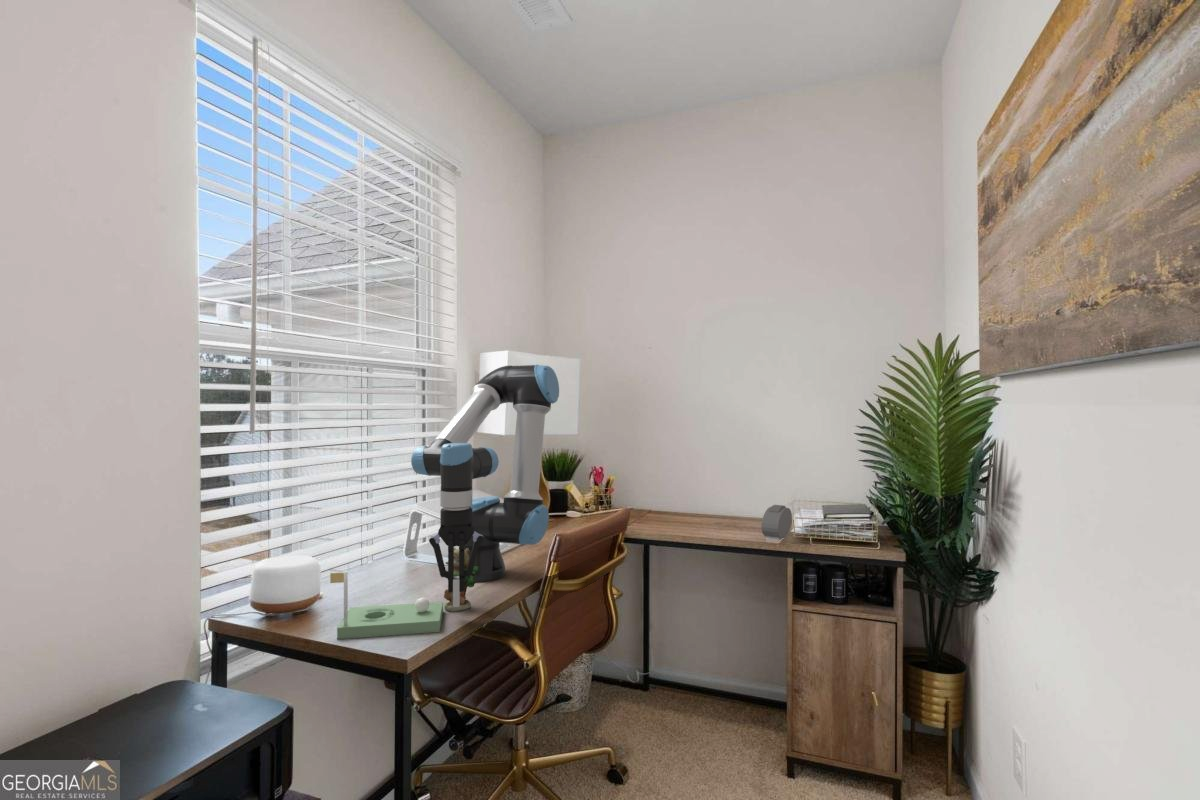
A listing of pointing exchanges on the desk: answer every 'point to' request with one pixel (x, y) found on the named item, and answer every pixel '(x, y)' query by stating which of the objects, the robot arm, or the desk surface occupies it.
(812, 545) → the desk surface
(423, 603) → the ball
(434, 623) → the green
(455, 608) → the figurine
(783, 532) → the alarm clock
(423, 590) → the desk surface
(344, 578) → the flag
